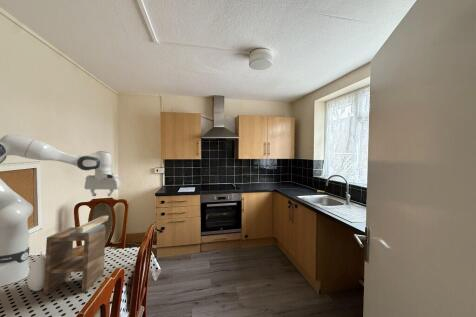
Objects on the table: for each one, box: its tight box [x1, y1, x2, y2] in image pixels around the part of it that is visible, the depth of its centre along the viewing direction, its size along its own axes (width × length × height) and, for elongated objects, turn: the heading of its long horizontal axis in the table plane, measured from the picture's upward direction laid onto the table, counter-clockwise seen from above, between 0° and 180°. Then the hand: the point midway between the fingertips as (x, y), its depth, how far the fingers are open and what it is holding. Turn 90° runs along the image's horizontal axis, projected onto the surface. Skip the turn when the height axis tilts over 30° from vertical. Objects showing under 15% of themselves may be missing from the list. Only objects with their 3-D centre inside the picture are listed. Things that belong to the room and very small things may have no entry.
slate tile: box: [70, 223, 105, 236], centre depth 95 cm, size 8×13×2 cm, turn 8°
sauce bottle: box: [26, 251, 46, 292], centre depth 89 cm, size 8×8×18 cm
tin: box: [72, 244, 84, 256], centre depth 116 cm, size 15×3×8 cm, turn 139°
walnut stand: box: [42, 226, 107, 296], centre depth 94 cm, size 18×14×26 cm
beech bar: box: [76, 215, 109, 233], centre depth 99 cm, size 3×22×2 cm, turn 8°
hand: (101, 196), depth 124 cm, fingers open, 8 cm apart
